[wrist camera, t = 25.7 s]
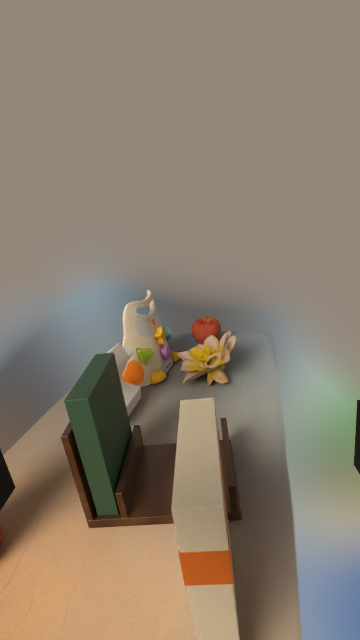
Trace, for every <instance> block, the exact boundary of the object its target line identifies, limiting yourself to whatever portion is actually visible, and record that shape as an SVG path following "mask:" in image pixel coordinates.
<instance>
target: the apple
mask: <svg viewBox="0 0 360 640" xmlns="http://www.w3.org/2000/svg"><path fill="white" fill-rule="evenodd" d="M220 333H221V327H220V323H219V322H218V320H216V319H214V318H208V317H206V318H201V319H198V320H196V321H195V322H194V323H193V325H192V334H193V337H194V338H195V340H196V341H197V342H198V343H199V344H202V345H204V341H205V340H206V338H207V337H209V336H211V335H213V336H215V337H216V338H217V339H219V337H220Z"/></svg>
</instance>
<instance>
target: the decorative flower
mask: <svg viewBox="0 0 360 640" xmlns="http://www.w3.org/2000/svg"><path fill="white" fill-rule="evenodd" d="M230 334H231V331H228V332H227V333H225V334H224V335H223V337H222V338H221V340H220V342H219V341H218V339H217V338H216V337H215V336H213V335H211V336H209V337H207V338H206V340H205V341H204V345H202V344H198V345H197V346H196V347H193V348H192V349H190V350H189V351H185V352H180V353H178V356H179V357H180V358H181V359H182V360H184V362H183V363H182V367H181V368H180V369H181V370H182V371H187V372H188V373H187V375H186V377H185V379H184V381H183V383H185V382H188V381H191V380H194V379H196V378H198V377H199V376H201V375H205V374H206V373H207V382H208V385H209V386H210V385H211V383H212V381H213V379H214V380H215V381H216V382H218V383H222V384H224V383H226V382H228V381H229V380H228V378H227V376H226V374H225V373H224V372H223V369H224V368H225V365H226V363H227V362H228V361H229V360H230V355H231V353H230V352H231V350H232V349H233V347H234V345H235V341H236V337H235V336H234V335H233V336H232V337H230V338H229V336H230ZM228 338H229V339H228ZM227 340H228V341H227ZM226 342H227V343H226ZM225 344H226V345H225Z"/></svg>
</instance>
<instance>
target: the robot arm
mask: <svg viewBox="0 0 360 640" xmlns="http://www.w3.org/2000/svg"><path fill="white" fill-rule="evenodd" d="M354 465H355V467H356V469H357V470H358V472H359V473H360V400H357V418H356V437H355V456H354ZM14 489H15V485H14V483H13V480H12V478H11V475H10V472H9V470H8V467H7V465H6V462H5V460H4V457H3V455H2V452H1V449H0V511H1V509H2V508H3V506H4V505H5V503H6V501H7V500H8V498H9V497H10V495H11V494H12V492H13V490H14Z"/></svg>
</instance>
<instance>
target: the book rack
mask: <svg viewBox="0 0 360 640" xmlns="http://www.w3.org/2000/svg"><path fill="white" fill-rule="evenodd" d="M221 427H222V436H223V440H219V441H220V450H221V460H222V470H223V480H224V490H225V498H226V507H227V516H228V520H241V519H242V517H241V509H240V502H239V495H238V488H237V481H236V474H235V467H234V460H233V453H232V446H231V440H230V439H229V435H228V427H227V420H226V418H221ZM61 439H62V442H63V446H64V449H65V452H66V455H67V458H68V462H69V465H70V468H71V471H72V474H73V478H74V481H75V484H76V487H77V491H78V494H79V497H80V500H81V503H82V507H83V510H84V513H85V516H86V519H87V523H88V526H89V528H96V527H114V526H133V525H151V524H169V523H174V521H173V516H172V510H171V507H172V495H173V483H174V471H175V459H176V447H177V443H176V444H163V445H150V446H144V444H143V439H142V435H141V430H140V425H135V426H134V429H133V432H132V436H131V439H130V443H129V446H128V450H127V453H126V457H125V461H124V464H123V468H122V471H121V475H120V478H119V482H118V485H117V489H116V492H115V495H116V499H117V503H118V507H119V511H120V512H119V515H104V516H98V514H97V511H96V508H95V504H94V501H93V497H92V494H91V491H90V487H89V484H88V480H87V477H86V474H85V470H84V467H83V463H82V460H81V457H80V453H79V450H78V446H77V443H76V440H75V436H74V433H73V429H72V426H71V423H70V422H69V424H68V426H67V427H66V429H65V431H64V433H63V434H62V436H61Z"/></svg>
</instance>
